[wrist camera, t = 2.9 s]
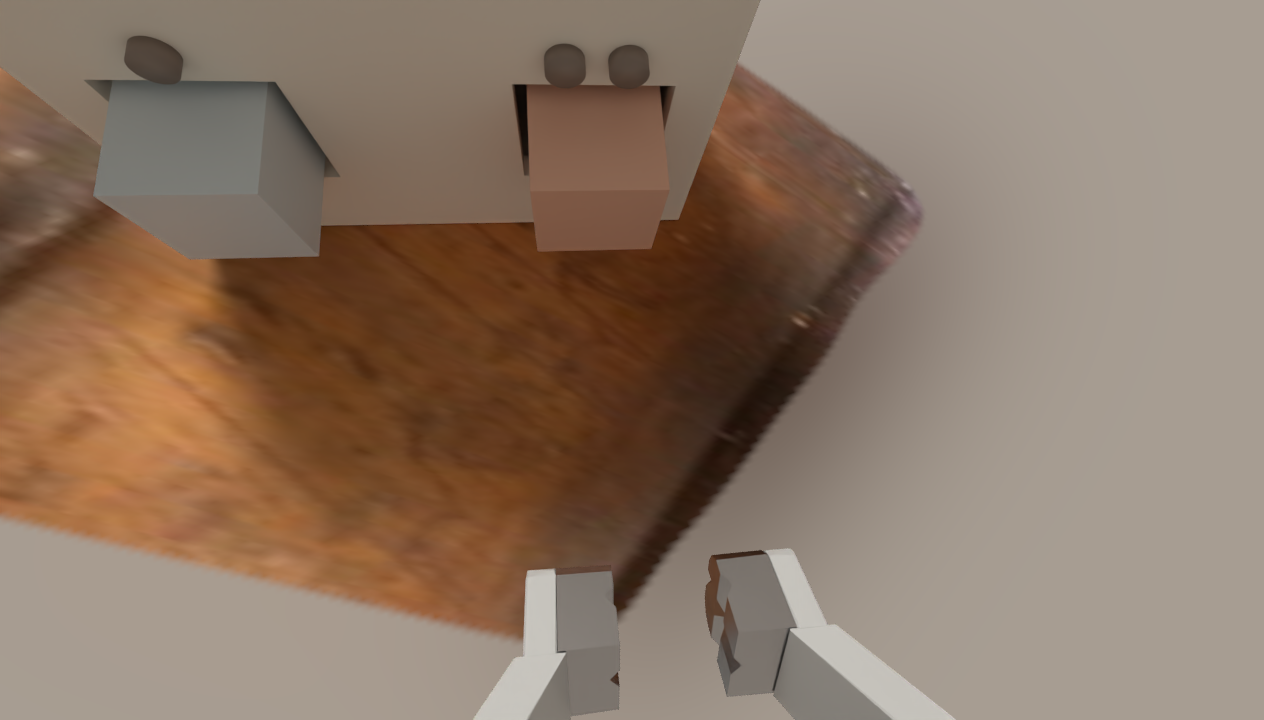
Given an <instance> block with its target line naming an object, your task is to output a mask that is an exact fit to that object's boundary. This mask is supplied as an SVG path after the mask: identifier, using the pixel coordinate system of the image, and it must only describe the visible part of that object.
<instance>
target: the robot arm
mask: <svg viewBox="0 0 1264 720" xmlns="http://www.w3.org/2000/svg"><path fill="white" fill-rule="evenodd" d="M708 570H709V574H710V577H711V581H710V582H709V583H708V584H707V585H706V591H705V608H706V617H707V622H708V627H709V631H710V634H711V638H713V640H715V642H717V643H718V644H719V652H718V659H717V662H718V665H719V669H720V673H721V676H722V680H723V684H724V688H725V691H726V695H727V697H728V696H741V695H752V694H763V693H774V697H775V698H776V699H777V700H778V701H779V702H780V703H781V704H782V706H783V707H784V708H785V709H786V710H787V711H788V712H789V713H790V715H791V716H792V717H793V718H794V719H795V720H956V719H955V718H953V717H952V716H951V715H950V714H948V713H947V712H946V711H945V710H943V709H942V708H941V707H939V706H938V705H937V704H936V703H934V702H933V701H932V700H931V699H929V698H928V697H927V696H926V695H924V694H923V693H922V692H921V691H919V690H918V689H917V688H916V687H914V686H913V685H912V684H910V683H909V682H908V681H907V680H905V679H904V678H903V677H902V676H900V675H899V674H898V673H897V672H895V671H894V670H893V669H891V668H890V667H889V666H888V665H887V664H885V663H884V662H883V661H882V660H880V659H879V658H878V657H877V656H875V655H874V654H873V653H871V652H870V651H869V650H868V649H867V648H865V647H864V646H862V645H861V644H860V643H859V642H858V641H856V640H855V639H854V638H853V637H851V636H850V635H849V634H848V633H846V632H845V631H844V630H842V629H841V628H840V627H839V626H838V625H836V624H835V625H828V623H827V621H826V619H825V617H824V615H823V613H822V611H821V608H820V606H819V604H818V602H817V600H816V598H815V595H814V593H813V592H812V589H811V587H810V585H809V582H808V580H807V578H806V576H805V574H804V572H803V570H802V567H801V565H800V563H799V561H798V559H797V557H796V554H795V553H794V552H793V551H792V550H791V549H790V548H788V549H777V550H765V551H762V550H759V551H749V552H739V553H730V554H720V555H712V556H711V558H710V560H709V566H708ZM619 670H620V642H619V632H618V623H617V613H616V607H615V606H614V605H613V579H612V571H611V565H604V566H587V567H570V568H556V569H542V570H529V571H527V576H526V588H525V615H524V642H523V656H522V657H515V658H514V659H513V660H512V662H511V663H510V665H509V666H508V668H507V669H506V671H505V672H504V674H503V675H502V677H501V678H500V680H499V681H498V683H497V684H496V686H495V687H494V689H493V690H492V692H491V693H490V695H489V696H488V698H487V699H486V701H485V702H484V704H483V705H482V707H481V708H480V710H479V711H478V712H477V714H476V715H475V717H474V718H473V720H570V716H576V715H583V714H589V713H596V712H603V711H610V710H616V709H619V677H618V671H619Z"/></svg>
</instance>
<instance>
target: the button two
mask: <svg viewBox="0 0 1264 720" xmlns="http://www.w3.org/2000/svg"><path fill="white" fill-rule="evenodd" d="M527 114H528V145H529V175H530V195H531V203H532V211H533V219H534V227H535V235H536V243H537V251H538V252H539V251H584V250H629V249H651V248H652V245H653V242H654V239H655V235H656V232H657V229H658V226H659V223H660V219H661V216H662V213H663V210H664V207H665V203H666V200H667V197H668V194H669V191H670V187H669V177H668V167H667V156H666V146H665V135H664V125H663V115H662V104H661V94H660V86H639V87H637V88H633V89H623V88H619V87H617V86H615V85H578V86H576V87H573V88H559V87H556V86H553V85H546V84H527Z"/></svg>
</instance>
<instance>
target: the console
mask: <svg viewBox="0 0 1264 720" xmlns="http://www.w3.org/2000/svg"><path fill="white" fill-rule="evenodd" d="M759 3H760V0H0V67H1V68H2V69H4V70H5V71H6V72H8V73H9V74H10V75H11V76H13V77H14V78H15V79H16V80H18V81H19V82H20V83H22V84H23V85H24V86H25V87H27V88H28V89H29V90H31V91H32V92H33V93H34V94H36V95H37V96H38V97H40V98H41V99H42V100H43V101H45V102H46V103H47V104H49V105H50V106H51V107H52V108H54V109H55V110H56V111H58V112H59V113H60V114H61V115H63V116H64V117H65V118H67V119H68V120H69V121H70V122H72V123H73V124H74V125H76V126H77V127H78V128H79V129H81V130H82V131H83V132H85V133H86V134H87V135H88V136H90V137H91V138H92V139H94V140H95V141H96V142H97V143H99V144H100V145H101V146H102V141H103V135H104V129H105V123H106V116H107V110H108V104H109V98H110V92H111V86H112V80H149V81H152V82H155V83H159V84H176V83H178V82H179V81H259V82H276V83H277V85H278V86H279V88H280V89H281V91H282V92H283V94H284V95H285V97H286V98H287V100H288V101H289V102H290V104H291V105H292V107H293V108H294V110H295V111H296V113H297V114H298V116H299V117H300V118H301V120H302V121H303V123H304V124H305V126H306V127H307V129H308V130H309V132H310V133H311V134H312V136H313V137H314V139H315V140H316V142H317V143H318V145H319V146H320V148H321V149H322V150H323V152H324V153H325V169H324V185H323V201H322V218H321V226H332V225H393V224H453V223H513V222H534V219H533V211H532V203H531V195H530V175H529V145H528V114H527V84H546V85H553V86H556V87H559V88H573V87H576V86H578V85H615V86H617V87H619V88H623V89H633V88H637V87H639V86H660V94H661V104H662V115H663V125H664V135H665V146H666V156H667V167H668V177H669V187H670V191H669V194H668V197H667V200H666V203H665V207H664V210H663V213H662V216H661V219H660V220H678V219H679V217H680V214H681V211H682V209H683V206H684V203H685V201H686V198H687V195H688V193H689V190H690V187H691V185H692V182H693V179H694V177H695V174H696V171H697V169H698V166H699V163H700V161H701V158H702V155H703V153H704V150H705V147H706V145H707V142H708V139H709V137H710V134H711V131H712V129H713V126H714V123H715V121H716V118H717V115H718V112H719V110H720V107H721V104H722V102H723V99H724V96H725V94H726V91H727V88H728V86H729V83H730V80H731V78H732V75H733V72H734V70H735V67H736V64H737V62H738V59H739V56H740V54H741V51H742V48H743V45H744V43H745V40H746V38H747V35H748V32H749V30H750V27H751V24H752V22H753V19H754V16H755V13H756V11H757V8H758V6H759Z"/></svg>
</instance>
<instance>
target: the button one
mask: <svg viewBox="0 0 1264 720" xmlns="http://www.w3.org/2000/svg"><path fill="white" fill-rule="evenodd" d="M324 169H325V153H324V152H323V150H322V149H321V148H320V146H319V145H318V143H317V142H316V140H315V139H314V137H313V136H312V134H311V133H310V132H309V130H308V129H307V127H306V126H305V124H304V123H303V121H302V120H301V118H300V117H299V116H298V114H297V113H296V111H295V110H294V108H293V107H292V105H291V104H290V102H289V101H288V100H287V98H286V97H285V95H284V94H283V92H282V91H281V89H280V88H279V86H278V85H277V83H276V82H259V81H179V82H178V83H176V84H159V83H155V82H152V81H149V80H112V86H111V92H110V98H109V104H108V110H107V116H106V123H105V129H104V135H103V141H102V147H101V153H100V159H99V165H98V171H97V177H96V183H95V189H94V195H93V196H94V197H96V198H97V199H99V200H100V201H102V202H103V203H105V204H106V205H108V206H109V207H111V208H112V209H114V210H116V211H117V212H119V213H120V214H122V215H123V216H125V217H126V218H128V219H129V220H131V221H132V222H134V223H135V224H137V225H138V226H140V227H141V228H143V229H144V230H146V231H147V232H149V233H150V234H152V235H153V236H155V237H156V238H158V239H159V240H161V241H162V242H164V243H166V244H167V245H169V246H170V247H172V248H173V249H175V250H176V251H178V252H179V253H181V254H182V255H184V256H185V257H187V258H188V259H227V258H271V257H316V256H319V250H320V234H321V218H322V201H323V185H324Z"/></svg>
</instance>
